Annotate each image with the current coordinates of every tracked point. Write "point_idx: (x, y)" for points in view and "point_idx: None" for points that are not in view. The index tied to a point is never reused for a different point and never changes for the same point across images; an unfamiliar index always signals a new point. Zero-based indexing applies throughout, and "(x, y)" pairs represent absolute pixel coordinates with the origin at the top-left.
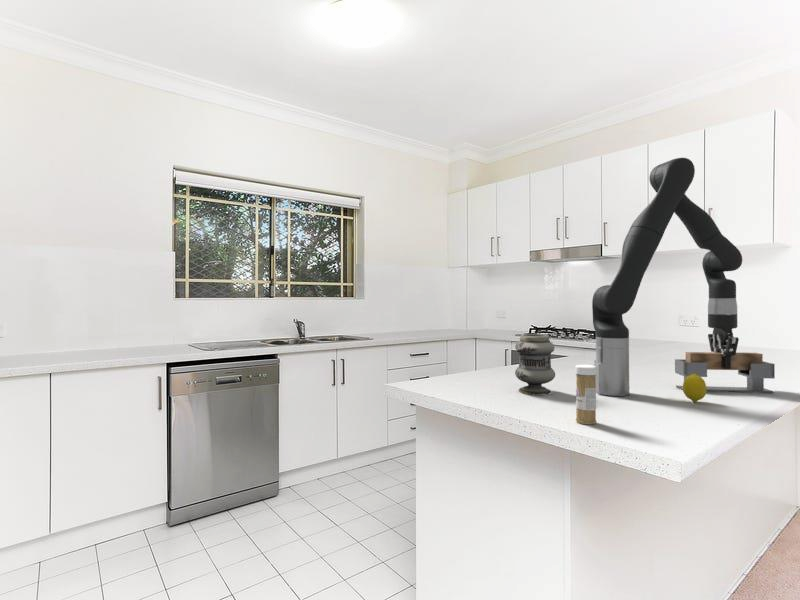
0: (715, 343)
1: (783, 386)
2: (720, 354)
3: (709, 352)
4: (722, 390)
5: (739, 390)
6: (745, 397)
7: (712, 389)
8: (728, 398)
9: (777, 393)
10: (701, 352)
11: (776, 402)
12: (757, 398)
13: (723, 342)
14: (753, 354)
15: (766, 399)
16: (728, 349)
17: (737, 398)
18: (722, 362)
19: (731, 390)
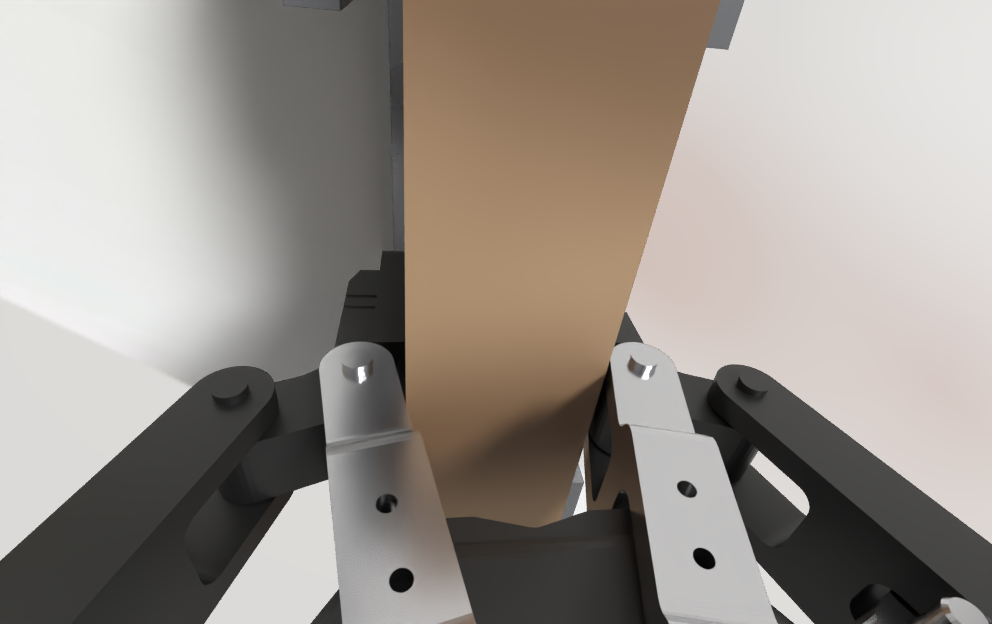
0: (639, 511)
1: (584, 508)
2: (406, 351)
3: (613, 277)
4: (393, 144)
5: None
6: (175, 195)
7: (390, 55)
8: (40, 11)
9: None
10: (640, 112)
11: (54, 303)
12: (168, 258)
13: (322, 614)
14: None
15: (152, 295)
16: (103, 478)
17: (88, 104)
18: (387, 287)
19: (393, 211)
